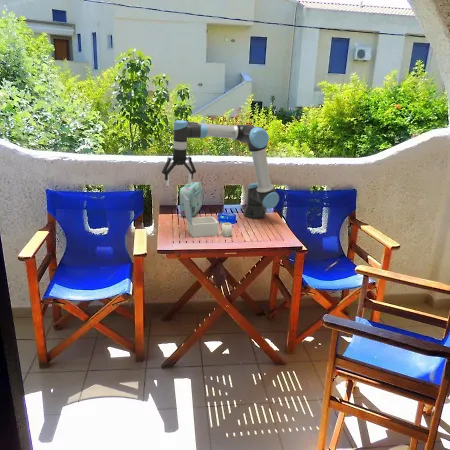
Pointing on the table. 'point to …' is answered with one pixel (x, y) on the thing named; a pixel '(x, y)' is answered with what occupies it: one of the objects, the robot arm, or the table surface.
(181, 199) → the lunch box
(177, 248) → the table surface
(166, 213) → the table surface
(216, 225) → the crate
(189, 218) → the lid
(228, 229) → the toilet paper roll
